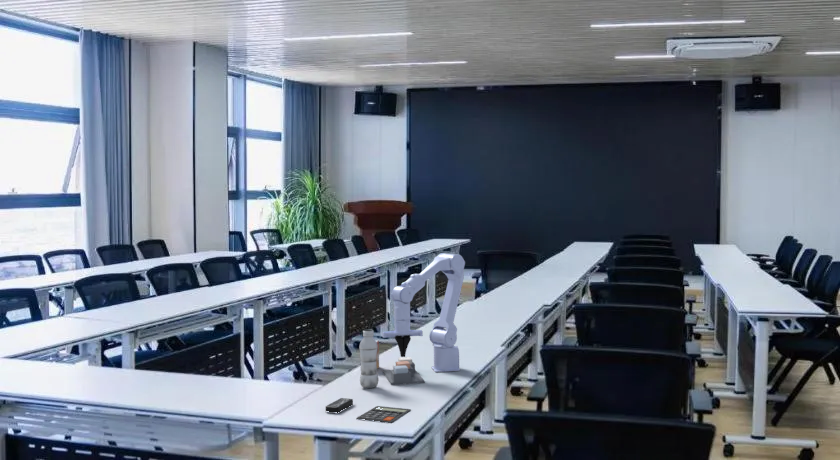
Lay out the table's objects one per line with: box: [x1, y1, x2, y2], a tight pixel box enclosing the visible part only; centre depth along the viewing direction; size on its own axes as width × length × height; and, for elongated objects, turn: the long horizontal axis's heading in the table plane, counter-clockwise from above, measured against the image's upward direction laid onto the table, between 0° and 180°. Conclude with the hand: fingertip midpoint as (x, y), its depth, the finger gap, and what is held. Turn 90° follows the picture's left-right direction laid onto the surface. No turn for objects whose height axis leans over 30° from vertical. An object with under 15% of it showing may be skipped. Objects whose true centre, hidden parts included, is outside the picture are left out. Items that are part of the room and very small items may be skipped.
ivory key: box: [397, 356, 413, 364], centre depth 312 cm, size 4×4×2 cm
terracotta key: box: [395, 361, 410, 369], centre depth 305 cm, size 4×4×2 cm
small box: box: [359, 339, 380, 369], centre depth 320 cm, size 8×6×10 cm
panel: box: [382, 361, 426, 386], centre depth 305 cm, size 12×20×4 cm, turn 11°
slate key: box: [393, 365, 408, 374], centre depth 298 cm, size 4×4×2 cm
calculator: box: [356, 405, 411, 424], centre depth 257 cm, size 12×1×15 cm
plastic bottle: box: [358, 329, 379, 389], centre depth 290 cm, size 6×7×20 cm
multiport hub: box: [325, 397, 354, 414], centre depth 264 cm, size 4×11×2 cm, turn 159°
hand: (402, 356), depth 305 cm, fingers closed
